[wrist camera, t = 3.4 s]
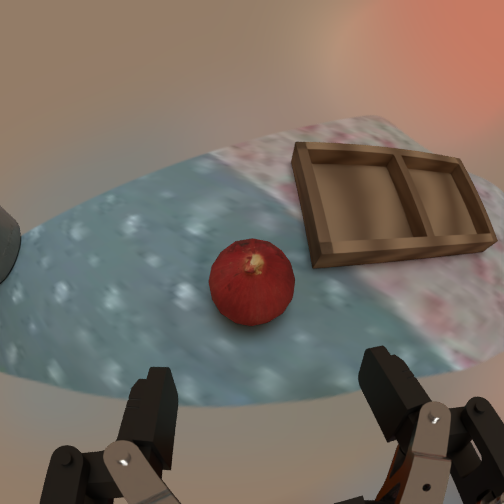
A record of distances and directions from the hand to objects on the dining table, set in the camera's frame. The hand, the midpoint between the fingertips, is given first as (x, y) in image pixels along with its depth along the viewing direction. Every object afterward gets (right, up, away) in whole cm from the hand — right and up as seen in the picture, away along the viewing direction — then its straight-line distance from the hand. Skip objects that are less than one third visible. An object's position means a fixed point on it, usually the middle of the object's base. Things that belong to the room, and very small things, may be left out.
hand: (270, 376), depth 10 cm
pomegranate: (-1, +1, +12) cm, 12 cm away
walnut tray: (+15, +10, +17) cm, 25 cm away
